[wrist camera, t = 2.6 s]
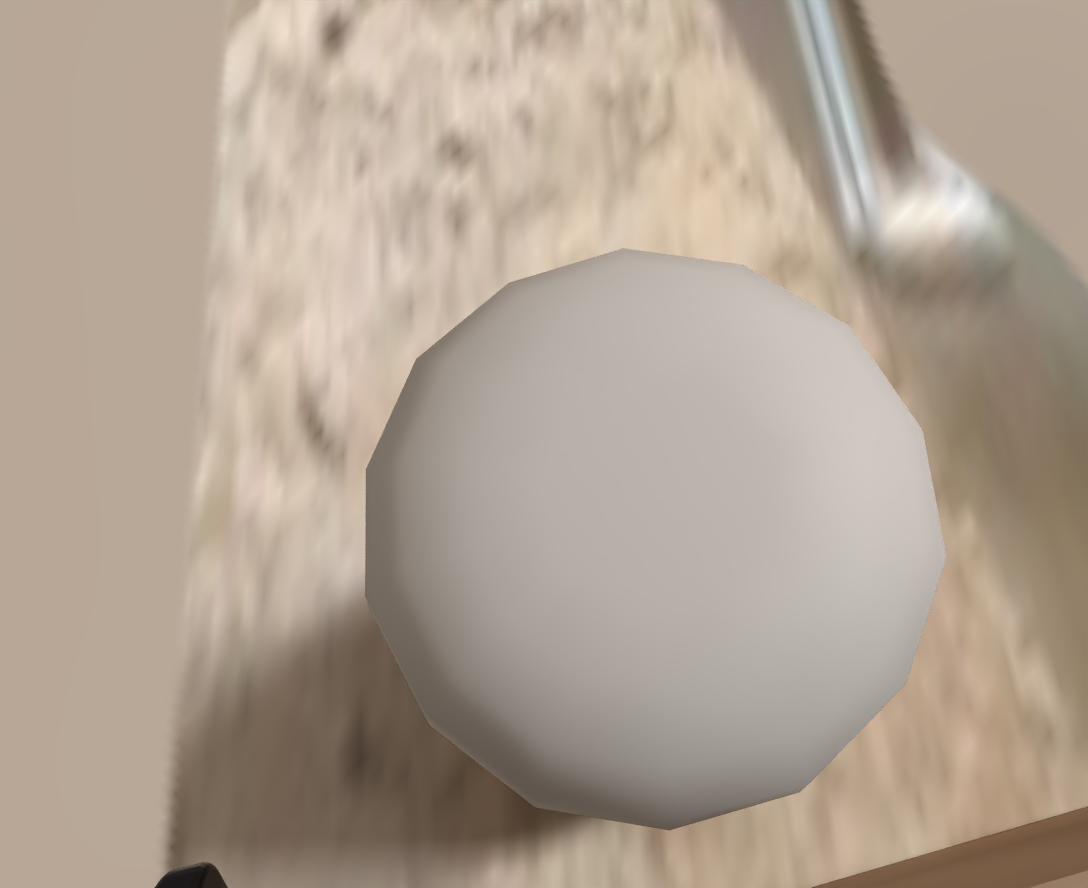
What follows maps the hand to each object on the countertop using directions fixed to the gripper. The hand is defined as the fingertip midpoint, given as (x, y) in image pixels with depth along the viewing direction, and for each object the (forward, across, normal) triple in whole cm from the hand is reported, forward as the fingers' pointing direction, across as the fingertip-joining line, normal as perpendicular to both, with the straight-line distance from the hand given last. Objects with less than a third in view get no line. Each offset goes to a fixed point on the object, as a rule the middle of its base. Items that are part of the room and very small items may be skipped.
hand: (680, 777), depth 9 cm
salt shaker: (+8, 0, +5) cm, 10 cm away
